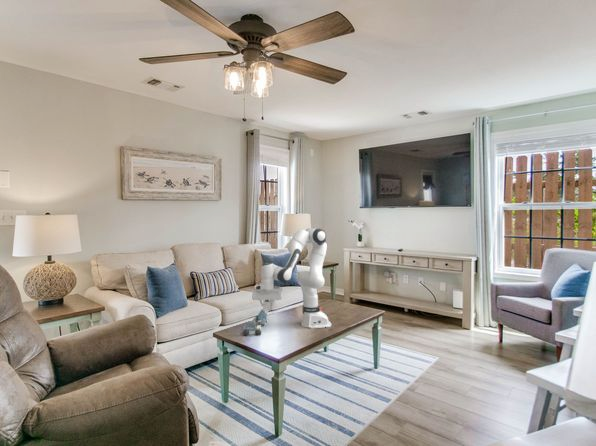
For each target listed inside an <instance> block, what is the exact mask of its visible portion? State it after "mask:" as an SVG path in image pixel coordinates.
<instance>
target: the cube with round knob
mask: <svg viewBox="0 0 596 446" xmlns="http://www.w3.org/2000/svg"><path fill="white" fill-rule="evenodd" d="M262 303H263V306H262V309H263V311H265V312H271V311H272V310H271V309H272V306H271V303H272V300H262Z"/></svg>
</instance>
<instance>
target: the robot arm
mask: <svg viewBox="0 0 596 446" xmlns="http://www.w3.org/2000/svg"><path fill="white" fill-rule="evenodd" d="M325 231H326V230H324V229H322V228H307V229H303V228H300V229H298V230H297V231H296V232H295V233H294V234H293V236H292V237H291V238H290V240H289V242H288V244H287V250H288V253H290V257H289V259H288V260H287V263H286V265H285V266H284V267H282V266H279V265H276V264H274V263H273V262H271V261H268V262H264V263H262V265H261V268H260V283H257V284H255V285H254V286H253V288H254V289H253V291H252V296H251V297H252V300H253V301H259V303H260V306H261V307H263V301H264V300H271V307H273V306H274V303H275V301H280V300H282V297H283V295H282V292H283V288H282V286H281V285H278V286H277V285H275V284H274V281H277V282H280V283H282V284H287V283H289V282H290V281H291V280H292V278H293V274H294V271H295V269H296V266H297V265H298V262H299V261H300V258H301V257H302V256H301V255H302V253H303V252H302V251H303V250H304V248H305V246H306V244H307V243H310V244H312V249H311V252H310V255H309V259H308V262H307V263H308V266H309V271H307V270H306V271H303V270H302V271H300V272H299V273H298V274H297V277H296V278H297V279H296V280H297V282H298V284H299V285H300V287H301V293H302V304H303V305H302V308H301V309H302V310H301V311H302V319H301V322H300V326H302V327H304V328H308V329H311V330H312V329H324V328H325V327H326V328H331V327H332V322H331V321H330V320H329V317H328V316H327V314H326V313H324V312H323V311H322V310H323V309H322V307H321V306H320V305H319V295H318V293H317V291H316V289H317V290H318V289H322V288H323V287H325V282H326V281H325V280H326V279H325V277H324V275H323V267H324V261H325V258H326V255H327V250H328V249H327V248H328V244H327V243H326V242H327V241H326V240H327V233H326V232H325Z"/></svg>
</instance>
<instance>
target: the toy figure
mask: <svg viewBox="0 0 596 446" xmlns="http://www.w3.org/2000/svg"><path fill="white" fill-rule="evenodd" d="M252 323H256V324H257V325H259V324H260V325H261V326H262V327H264V326H265V325H266V324H268V316H267V312H266V311H263V308H262V309H261V310H260V311H259V313H258V315H255V317H253V320H252Z"/></svg>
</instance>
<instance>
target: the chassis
mask: <svg viewBox="0 0 596 446" xmlns="http://www.w3.org/2000/svg"><path fill="white" fill-rule="evenodd" d="M262 329H263V326H261V325H260V324H244V325H243V330H242V334H243V336H245V337H248V336H249V335H252V336H253V335H255V336H257V337H260V336H261V335H262V331H263V330H262Z"/></svg>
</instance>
